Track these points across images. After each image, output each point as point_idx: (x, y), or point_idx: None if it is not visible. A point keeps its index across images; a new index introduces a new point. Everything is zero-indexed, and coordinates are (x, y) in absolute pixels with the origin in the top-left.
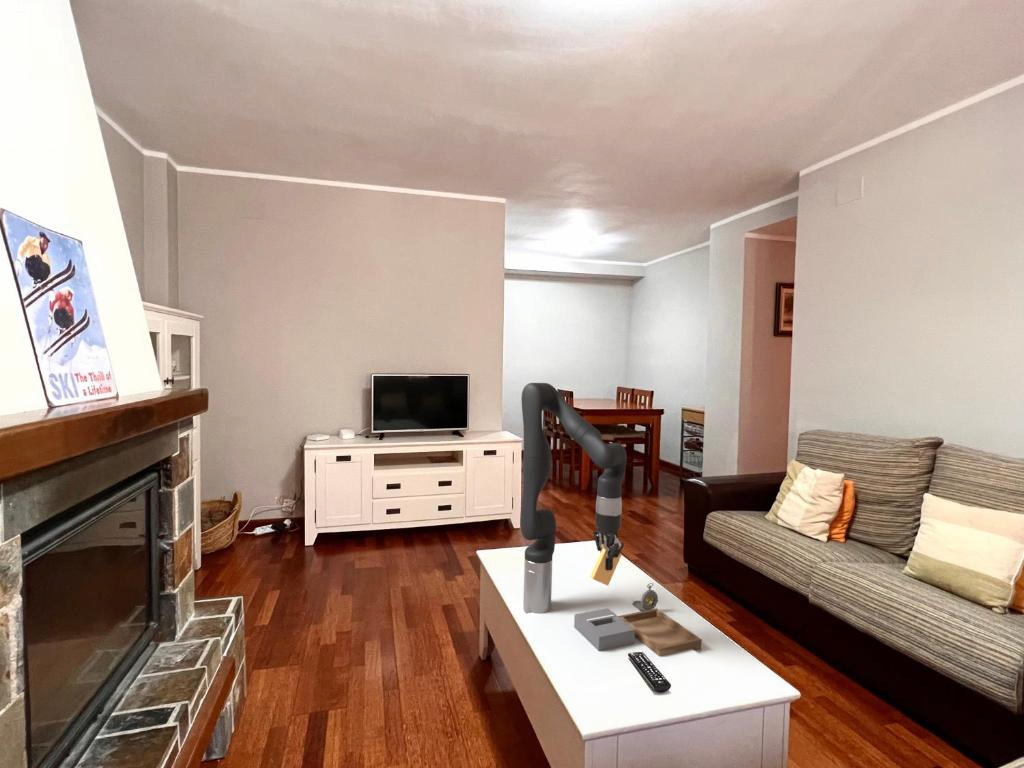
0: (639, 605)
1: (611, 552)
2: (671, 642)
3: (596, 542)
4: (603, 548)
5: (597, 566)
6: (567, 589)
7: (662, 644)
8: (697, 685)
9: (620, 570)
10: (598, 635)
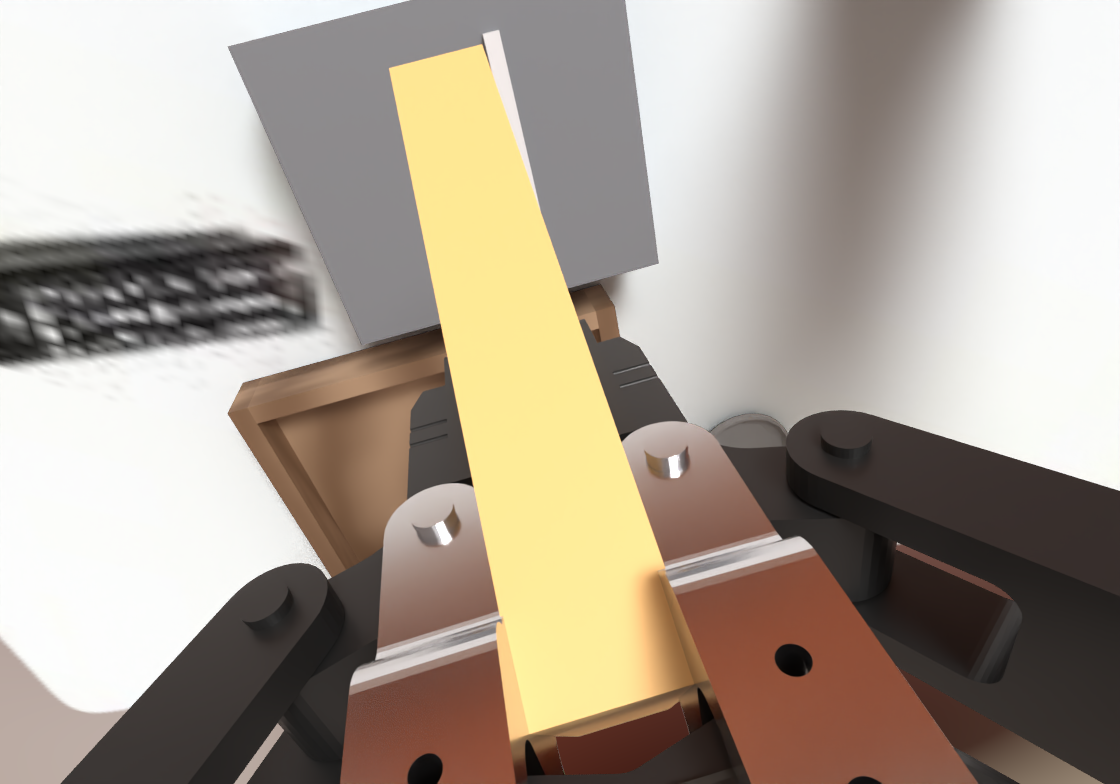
0: (758, 446)
1: (157, 762)
2: (380, 481)
3: (1072, 514)
4: (633, 594)
5: (446, 218)
6: (1089, 106)
7: (360, 439)
8: (30, 474)
9: (1092, 458)
10: (255, 49)
